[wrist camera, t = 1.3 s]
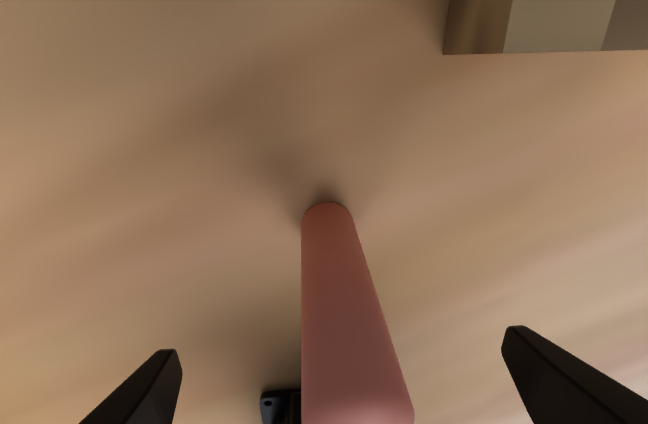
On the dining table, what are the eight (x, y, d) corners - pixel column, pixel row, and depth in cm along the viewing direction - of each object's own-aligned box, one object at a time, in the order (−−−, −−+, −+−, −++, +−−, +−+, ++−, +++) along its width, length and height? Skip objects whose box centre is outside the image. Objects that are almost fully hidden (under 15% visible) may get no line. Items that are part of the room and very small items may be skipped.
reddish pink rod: (352, 246, 16) (409, 452, 7) (302, 249, 15) (304, 460, 7) (353, 200, 15) (420, 380, 6) (299, 203, 14) (298, 389, 6)
